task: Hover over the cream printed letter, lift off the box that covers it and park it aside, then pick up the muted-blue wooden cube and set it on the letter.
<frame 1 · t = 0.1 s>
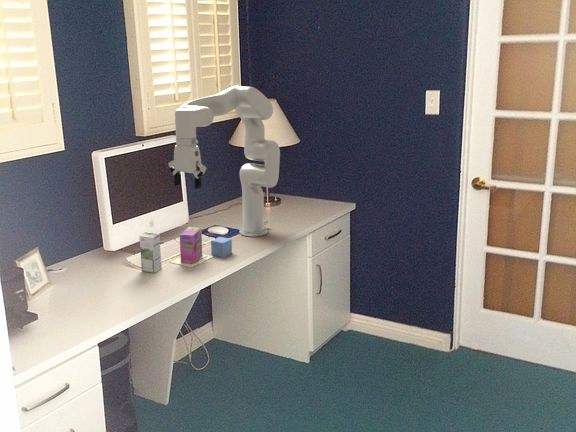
hand: (187, 186, 256), 31 cm above the table, fingers open, 9 cm apart
blue cube: (221, 253, 275), on the table
box: (191, 259, 268), resting on letter
letter: (191, 259, 268), on the table
syrup box: (151, 270, 257), on the table
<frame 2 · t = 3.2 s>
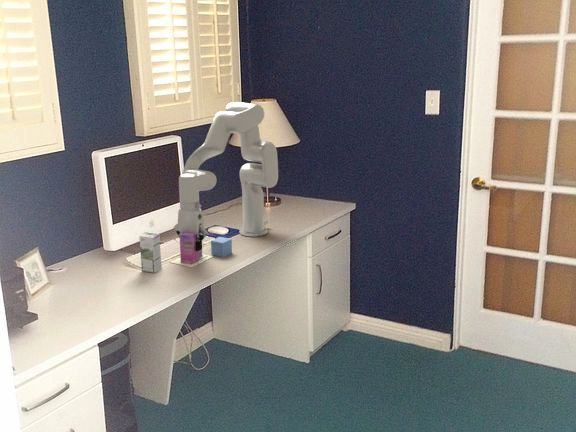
hand: (191, 248, 267), 5 cm above the table, fingers closed on box, 7 cm apart
box: (191, 259, 268), resting on letter, touching gripper
everything else where it was.
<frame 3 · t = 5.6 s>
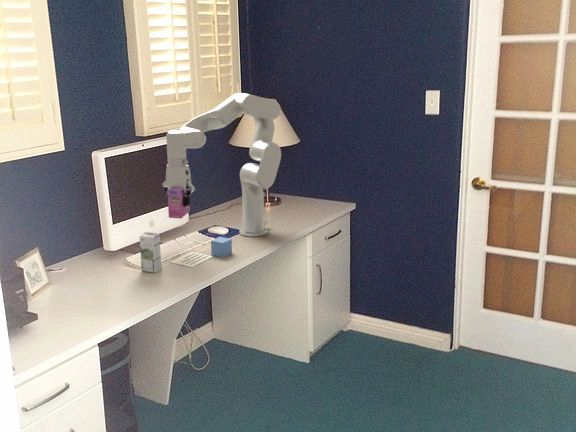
hand: (179, 204, 275), 19 cm above the table, fingers closed on box, 7 cm apart
box: (179, 215, 276), point 15 cm above the table, touching gripper
everything else where it was.
when the fingers open (6 cm above the table, at t = 8.1 s): box drops 2 cm, on the table.
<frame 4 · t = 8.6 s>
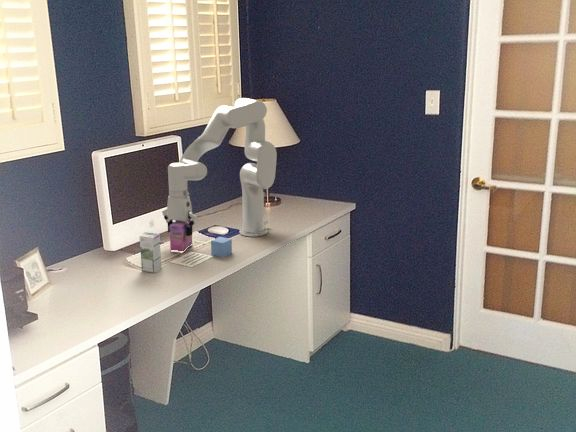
hand: (180, 233, 279), 7 cm above the table, fingers open, 9 cm apart
box: (181, 249, 281), on the table
everything else where it was.
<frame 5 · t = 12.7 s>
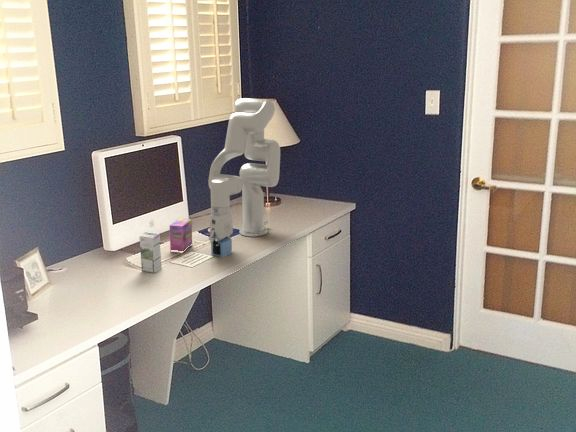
hand: (221, 251, 275), 1 cm above the table, fingers closed on blue cube, 6 cm apart
blue cube: (221, 253, 275), on the table, touching gripper
everything else where it was.
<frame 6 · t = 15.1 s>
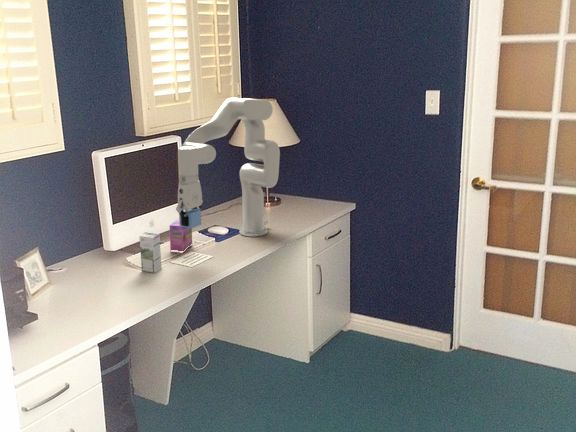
hand: (190, 223, 264), 15 cm above the table, fingers closed on blue cube, 6 cm apart
blue cube: (190, 225, 264), point 14 cm above the table, touching gripper
everything else where it was.
when the fingers open (2 cm above the table, at t = 17.5 s): blue cube stays where it is, resting on letter.
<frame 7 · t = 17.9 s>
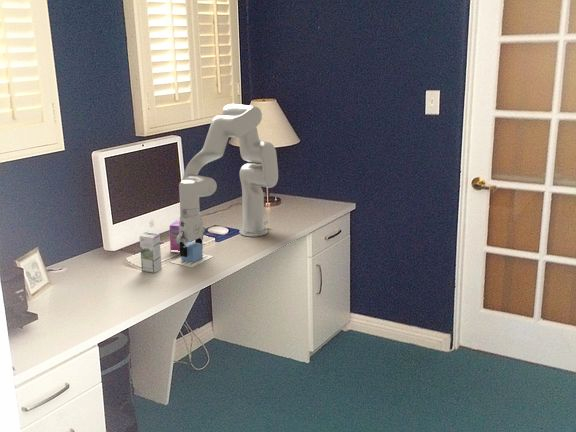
hand: (191, 252, 267), 3 cm above the table, fingers open, 9 cm apart
blue cube: (192, 258, 268), resting on letter
everything else where it was.
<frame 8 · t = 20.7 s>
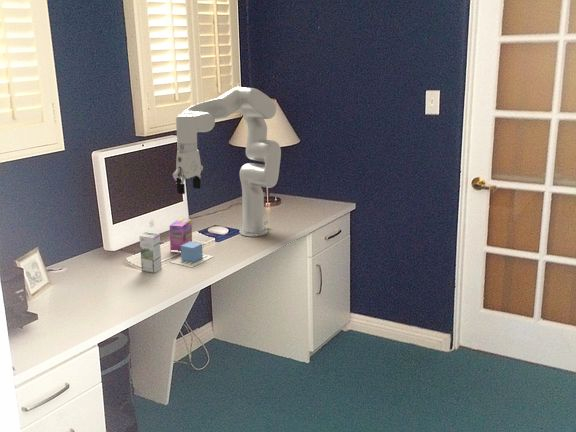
hand: (189, 190, 260), 28 cm above the table, fingers open, 9 cm apart
nothing on the table moved.
at the end: blue cube inside the target area on the letter (0.1 cm from its centre), point 0.3 cm above the letter's base; box inside the target area (2.6 cm from its centre), on the table; blue cube tilted 0° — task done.
